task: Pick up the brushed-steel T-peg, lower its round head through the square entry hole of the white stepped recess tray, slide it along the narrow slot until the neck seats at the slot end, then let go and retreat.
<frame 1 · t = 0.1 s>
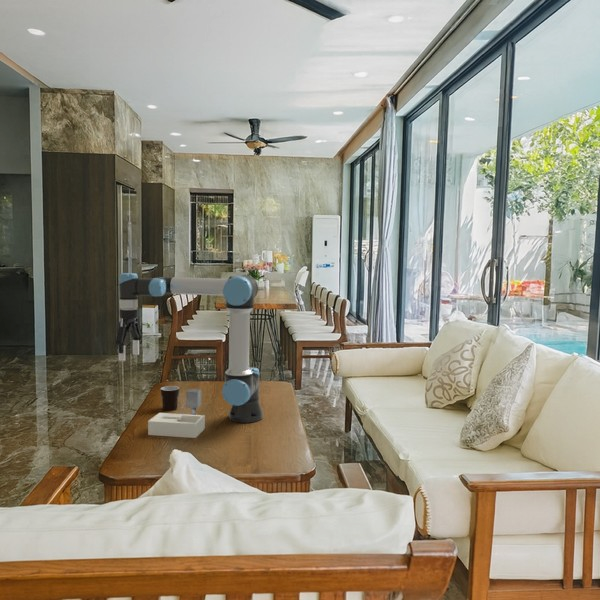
hand: (129, 357, 242), 28 cm above the table, tool pointing down, fingers open, 13 cm apart
t peg: (193, 421, 244), on the table
white stepped recess tray: (177, 431, 230), on the table
coffee mug: (171, 408, 264), on the table
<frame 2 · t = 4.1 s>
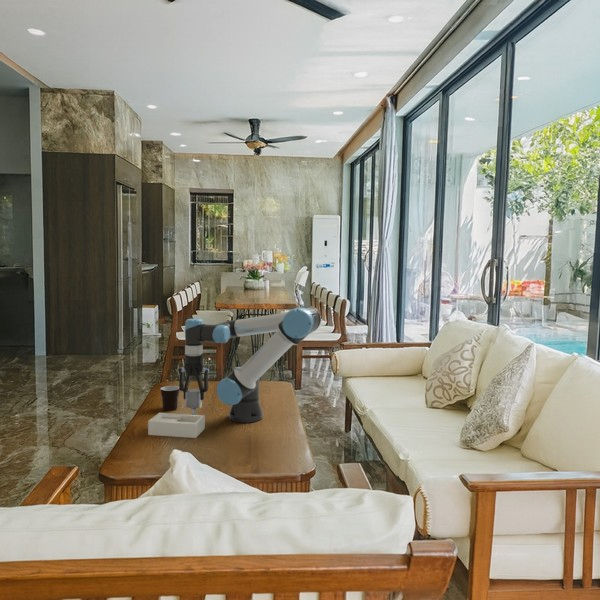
hand: (193, 406, 243), 7 cm above the table, tool pointing down, fingers closed on t peg, 5 cm apart
t peg: (193, 421, 244), on the table, touching gripper
everything else where it was.
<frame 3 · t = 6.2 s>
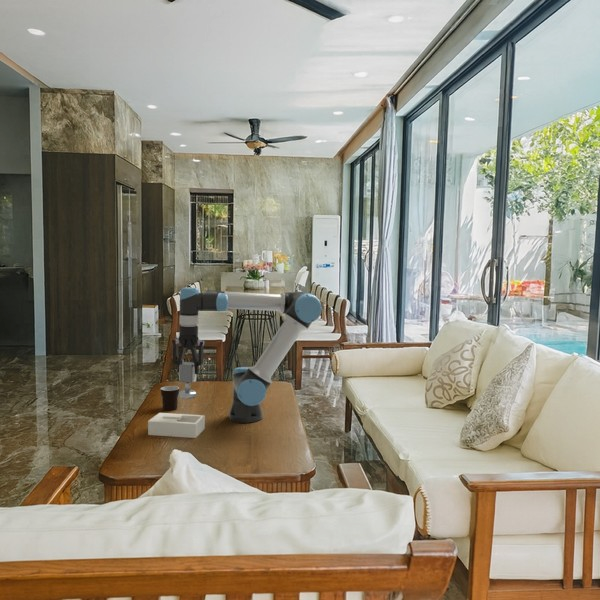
hand: (187, 380, 230), 21 cm above the table, tool pointing down, fingers closed on t peg, 5 cm apart
t peg: (187, 396, 231), point 14 cm above the table, touching gripper
everything else where it was.
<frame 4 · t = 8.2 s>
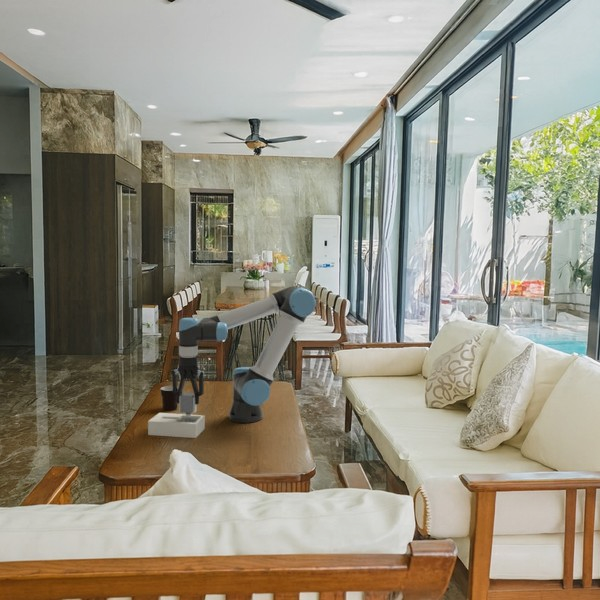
hand: (188, 411, 229), 9 cm above the table, tool pointing down, fingers closed on t peg, 5 cm apart
t peg: (187, 427, 230), point 2 cm above the table, touching gripper
everything else where it was.
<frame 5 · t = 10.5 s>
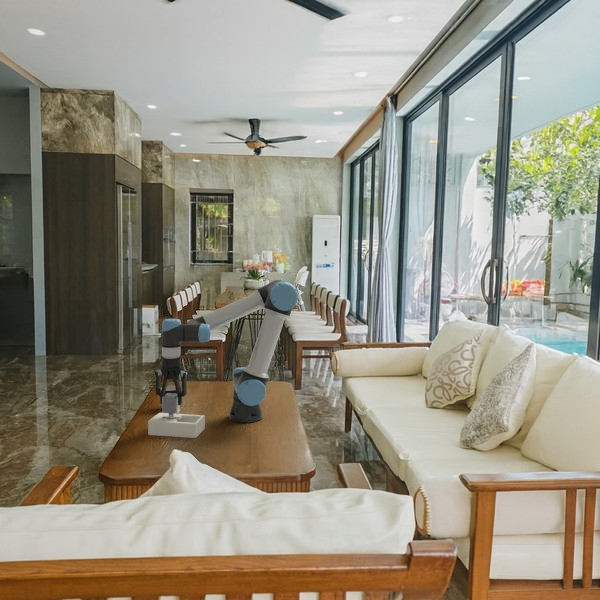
hand: (171, 412, 230), 8 cm above the table, tool pointing down, fingers closed on t peg, 5 cm apart
t peg: (171, 427, 231), point 1 cm above the table, touching gripper
everything else where it was.
when the fingers open (8 cm above the table, at t = 12.3 s): t peg stays where it is, resting on white stepped recess tray.
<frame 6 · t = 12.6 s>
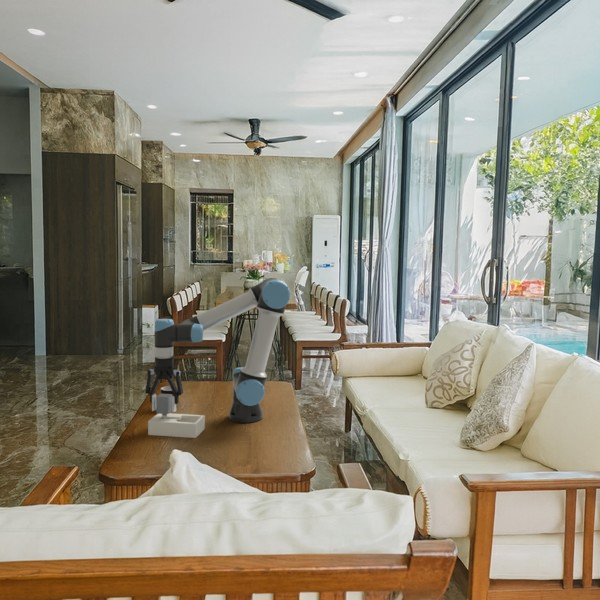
hand: (164, 410, 230), 9 cm above the table, tool pointing down, fingers open, 8 cm apart
t peg: (164, 428, 231), point 1 cm above the table, touching white stepped recess tray
everything else where it was.
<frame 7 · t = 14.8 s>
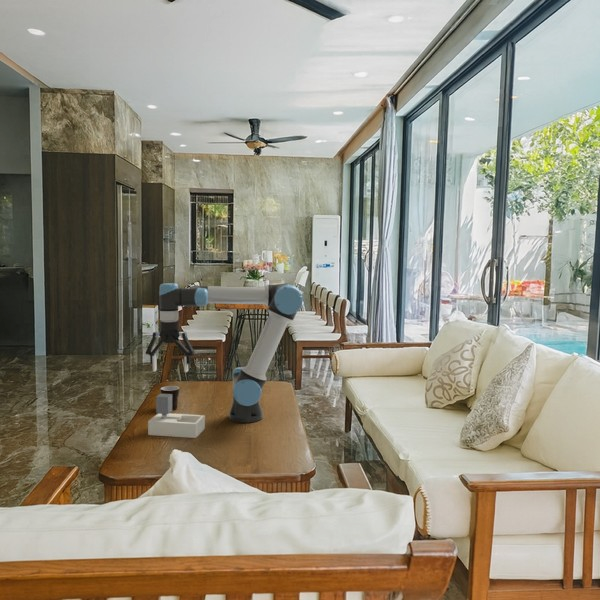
hand: (170, 371, 232), 25 cm above the table, tool pointing down, fingers open, 13 cm apart
nothing on the table moved.
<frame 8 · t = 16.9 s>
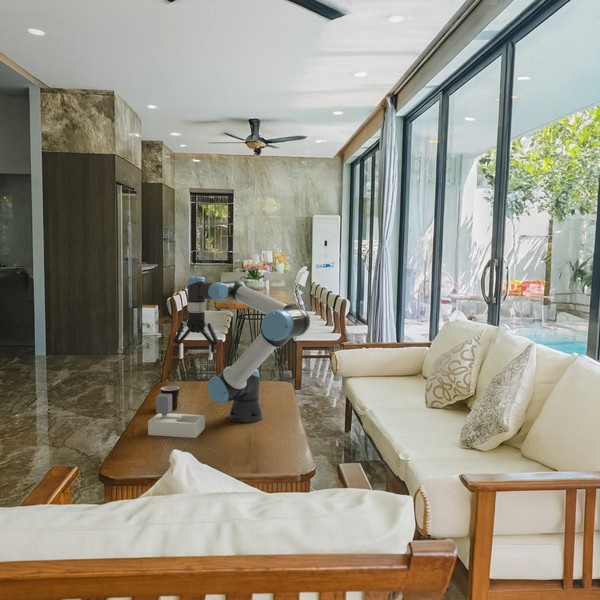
hand: (196, 359, 248), 27 cm above the table, tool pointing down, fingers open, 13 cm apart
nothing on the table moved.
at the end: t peg 0.2 cm from the target spot on the white stepped recess tray, point 1.0 cm above the white stepped recess tray's base; the gripper is holding nothing; t peg tilted 1° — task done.
